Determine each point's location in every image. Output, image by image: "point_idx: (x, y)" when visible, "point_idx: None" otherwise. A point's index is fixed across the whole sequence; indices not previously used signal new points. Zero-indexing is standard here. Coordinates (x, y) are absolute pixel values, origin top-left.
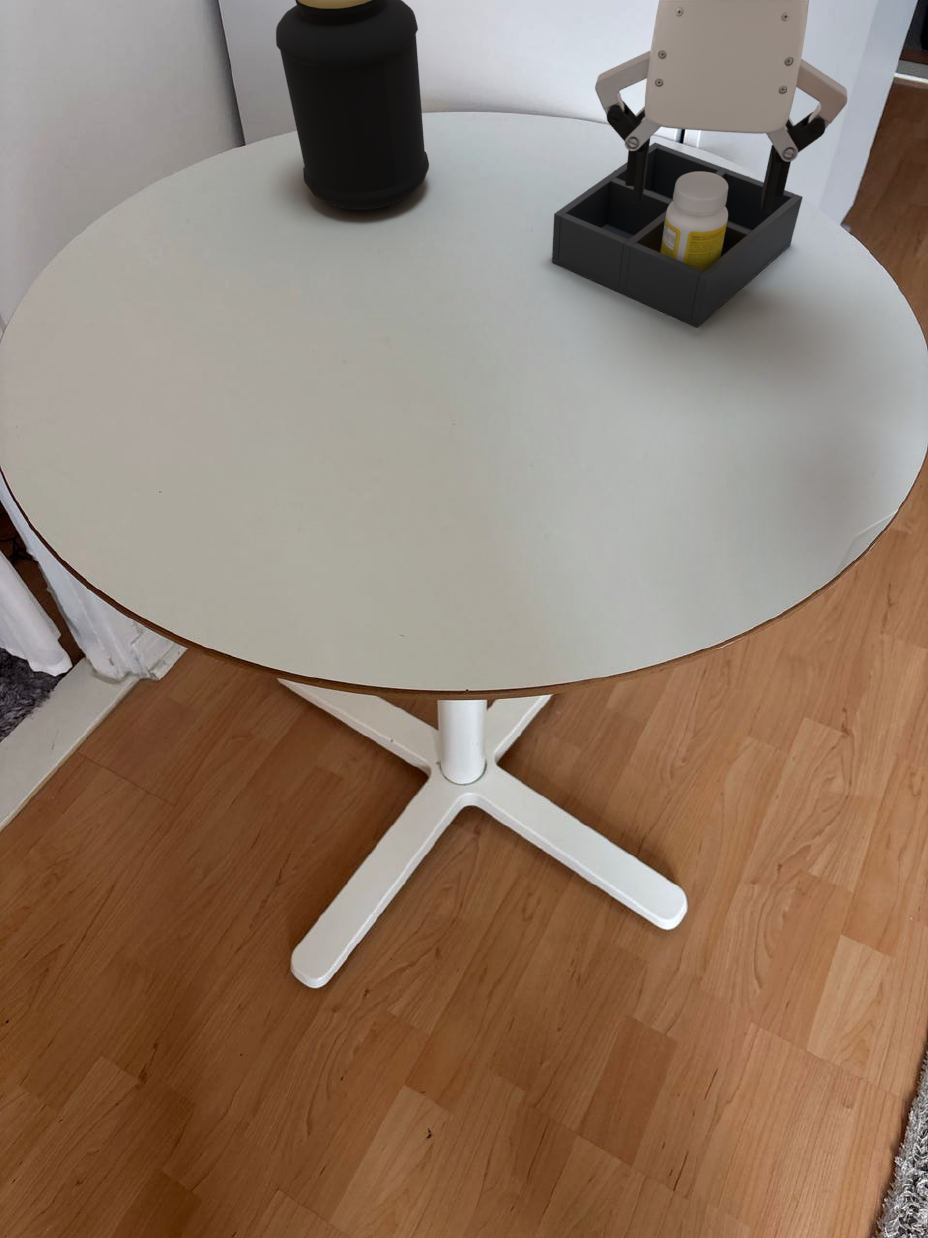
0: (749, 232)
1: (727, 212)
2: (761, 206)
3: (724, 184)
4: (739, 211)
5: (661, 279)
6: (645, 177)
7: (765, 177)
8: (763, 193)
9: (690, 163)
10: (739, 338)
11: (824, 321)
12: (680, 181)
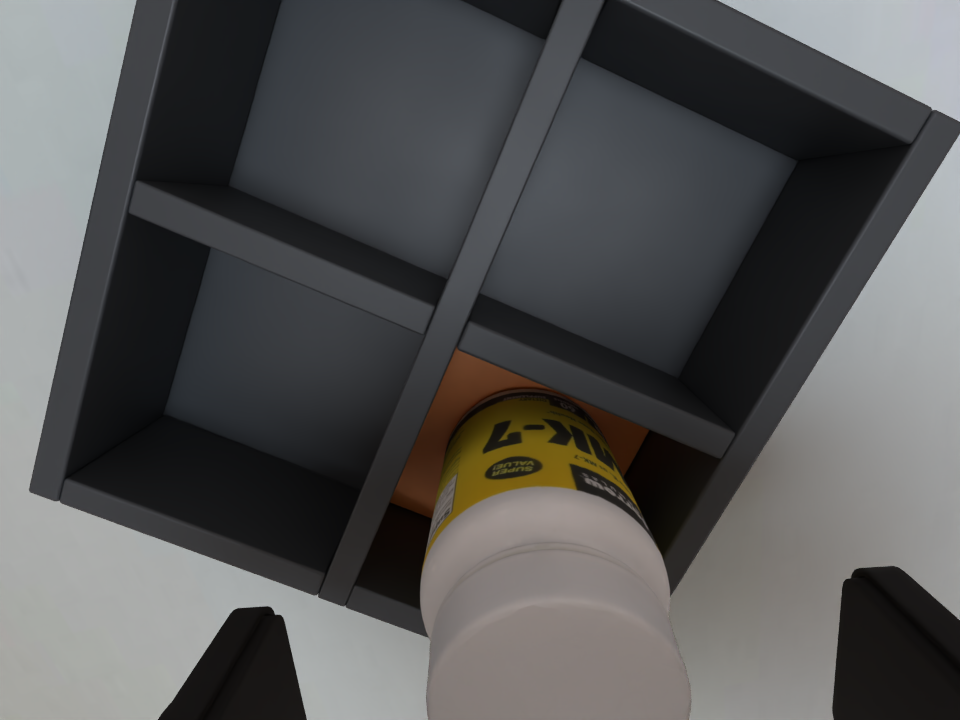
0: (730, 444)
1: (668, 598)
2: (840, 712)
3: (671, 691)
4: (661, 80)
5: None
6: (269, 673)
7: (906, 676)
8: (870, 714)
9: None
10: (680, 595)
11: (892, 490)
12: (447, 704)
